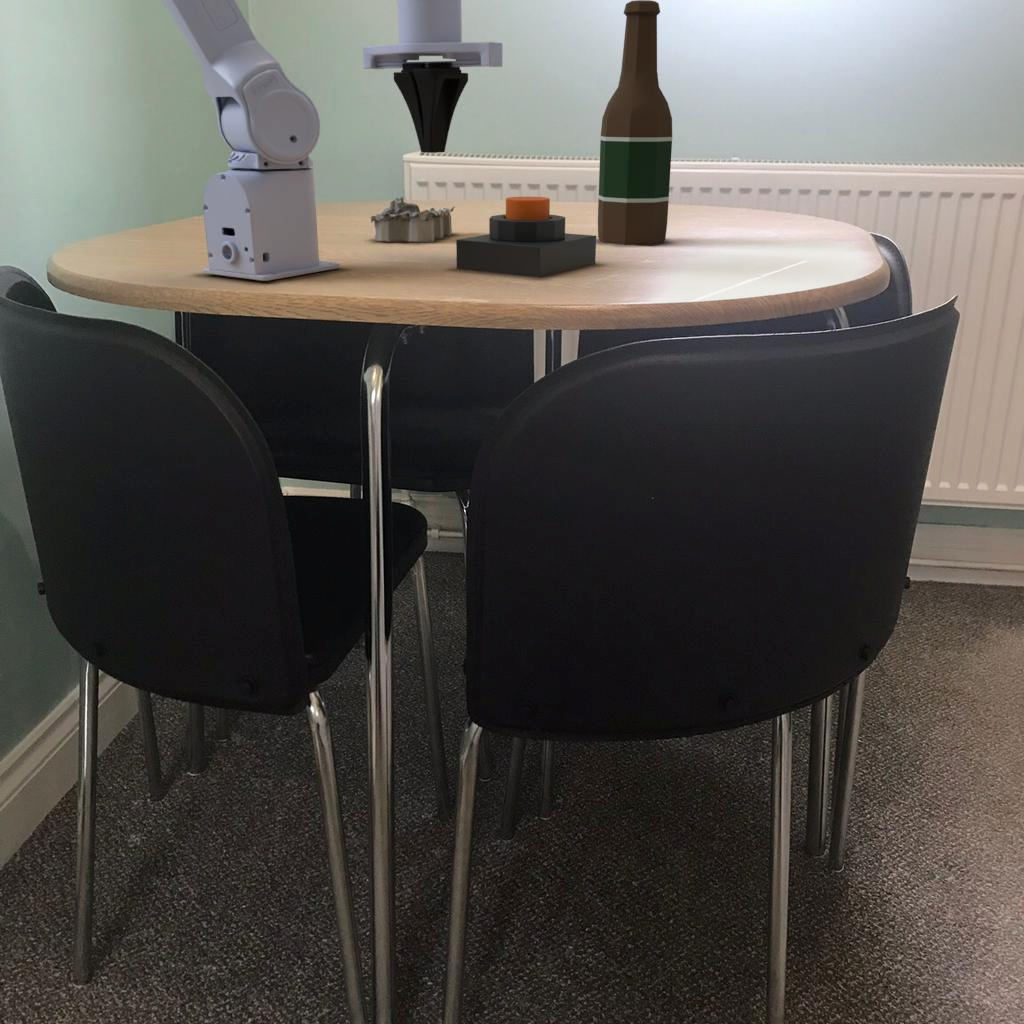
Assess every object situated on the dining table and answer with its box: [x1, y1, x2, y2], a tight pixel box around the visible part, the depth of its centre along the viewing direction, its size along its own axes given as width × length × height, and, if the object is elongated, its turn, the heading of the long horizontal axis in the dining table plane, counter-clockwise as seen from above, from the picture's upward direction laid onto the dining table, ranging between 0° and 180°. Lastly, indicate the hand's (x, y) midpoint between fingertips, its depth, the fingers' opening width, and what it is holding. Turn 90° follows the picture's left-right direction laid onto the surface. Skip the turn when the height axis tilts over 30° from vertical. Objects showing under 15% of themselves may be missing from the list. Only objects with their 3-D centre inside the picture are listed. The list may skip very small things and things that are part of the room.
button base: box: [455, 213, 597, 279], centre depth 94 cm, size 10×9×4 cm
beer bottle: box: [597, 0, 673, 246], centre depth 108 cm, size 8×8×24 cm
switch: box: [505, 196, 551, 220], centre depth 93 cm, size 4×4×2 cm
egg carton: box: [370, 196, 456, 243], centre depth 115 cm, size 11×8×4 cm
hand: (432, 152), depth 95 cm, fingers closed
